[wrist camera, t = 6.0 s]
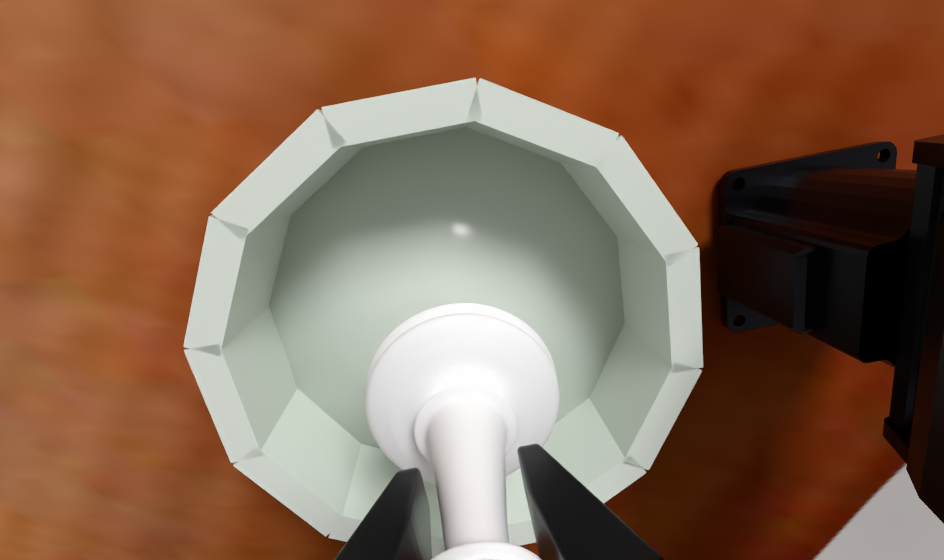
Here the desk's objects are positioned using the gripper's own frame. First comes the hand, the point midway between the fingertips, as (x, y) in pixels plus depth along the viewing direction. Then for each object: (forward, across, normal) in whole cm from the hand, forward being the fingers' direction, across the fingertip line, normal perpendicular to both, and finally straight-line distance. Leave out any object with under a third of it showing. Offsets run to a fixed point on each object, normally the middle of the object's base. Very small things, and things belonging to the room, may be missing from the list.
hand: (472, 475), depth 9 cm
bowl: (+9, 0, 0) cm, 9 cm away
